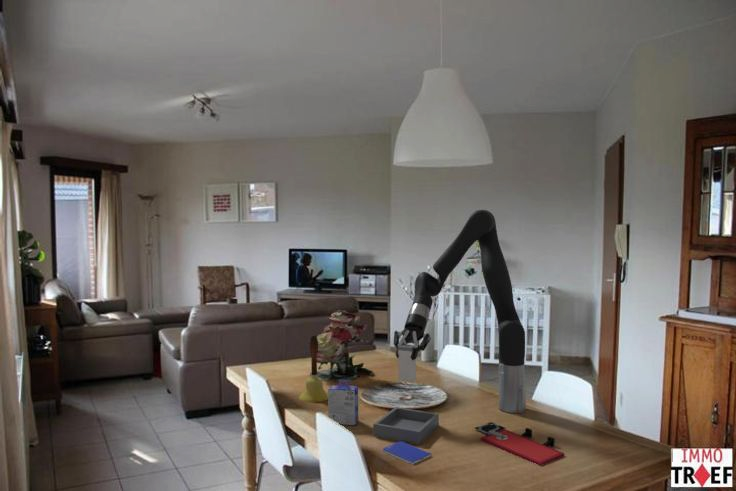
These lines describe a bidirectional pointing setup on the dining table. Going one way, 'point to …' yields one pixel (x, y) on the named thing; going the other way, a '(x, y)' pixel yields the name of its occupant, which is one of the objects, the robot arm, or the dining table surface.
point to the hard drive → (406, 452)
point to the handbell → (314, 378)
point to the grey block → (406, 363)
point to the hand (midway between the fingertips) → (405, 358)
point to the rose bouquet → (339, 347)
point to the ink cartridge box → (343, 403)
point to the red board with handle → (520, 444)
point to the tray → (406, 425)
